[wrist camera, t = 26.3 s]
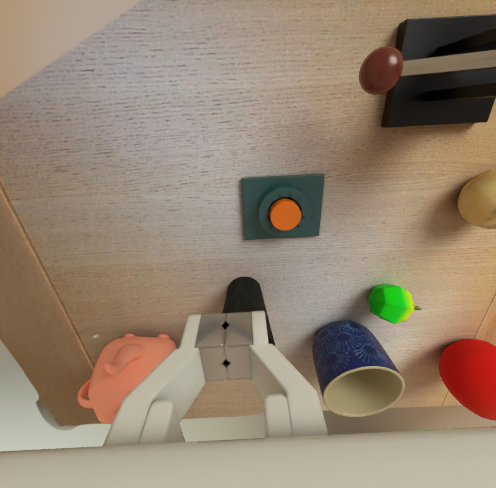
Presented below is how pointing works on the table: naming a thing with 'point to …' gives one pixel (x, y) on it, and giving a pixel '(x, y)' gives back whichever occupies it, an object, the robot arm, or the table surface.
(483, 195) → the onion
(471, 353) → the tomato
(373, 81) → the lever
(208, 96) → the table surface
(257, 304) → the cup
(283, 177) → the button box
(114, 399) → the teapot
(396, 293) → the apple
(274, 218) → the button
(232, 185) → the table surface
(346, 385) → the planter
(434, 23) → the bracket
